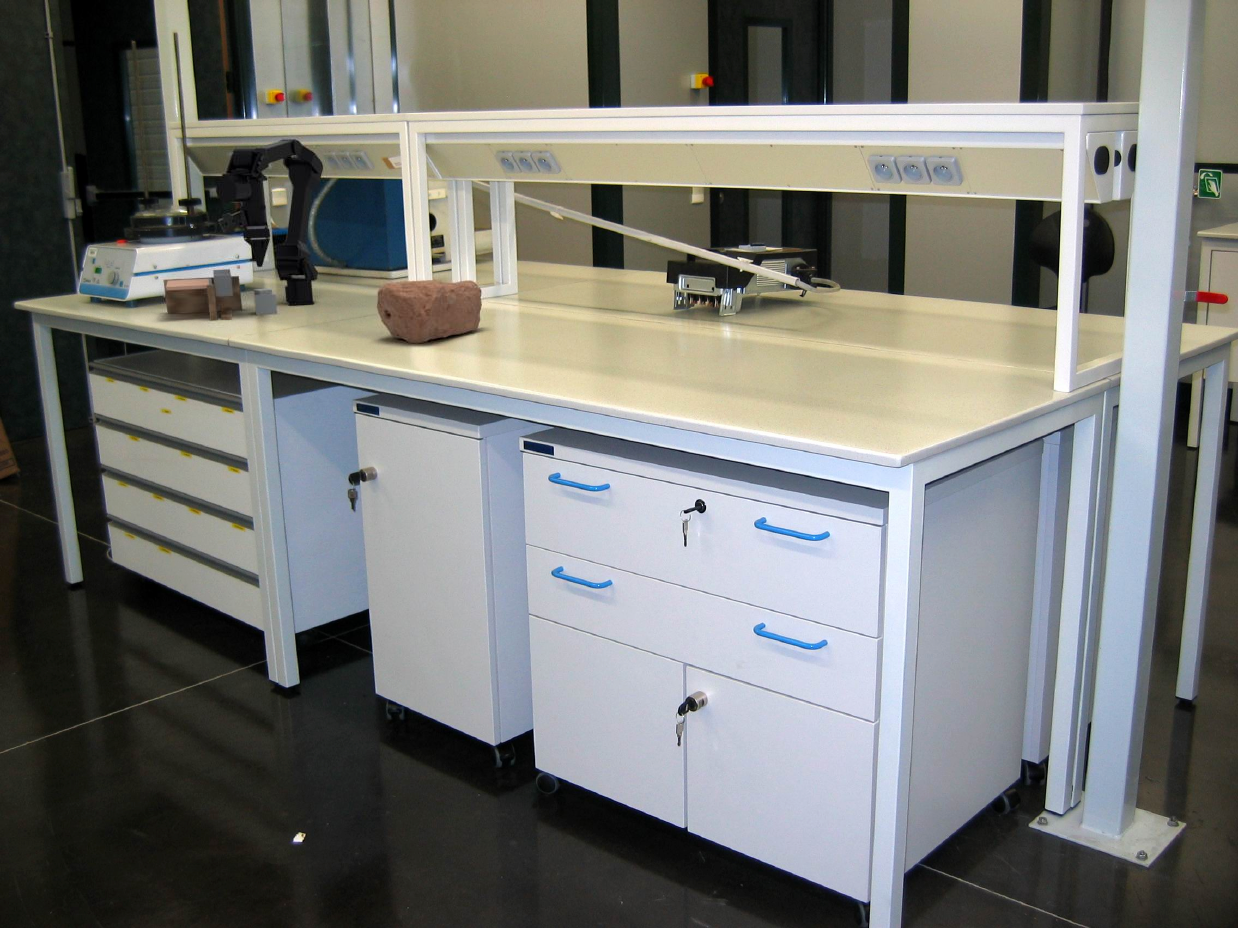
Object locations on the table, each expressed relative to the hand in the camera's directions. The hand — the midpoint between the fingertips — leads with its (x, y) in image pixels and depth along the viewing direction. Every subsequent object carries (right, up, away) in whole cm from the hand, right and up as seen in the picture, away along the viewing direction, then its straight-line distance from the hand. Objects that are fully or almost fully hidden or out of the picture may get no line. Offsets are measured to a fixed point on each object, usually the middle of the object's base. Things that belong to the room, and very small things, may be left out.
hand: (259, 265), depth 282 cm
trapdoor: (-14, -7, -2) cm, 16 cm away
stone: (+49, -21, -31) cm, 62 cm away
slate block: (+1, -12, +3) cm, 12 cm away
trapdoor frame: (-13, -13, 0) cm, 19 cm away
